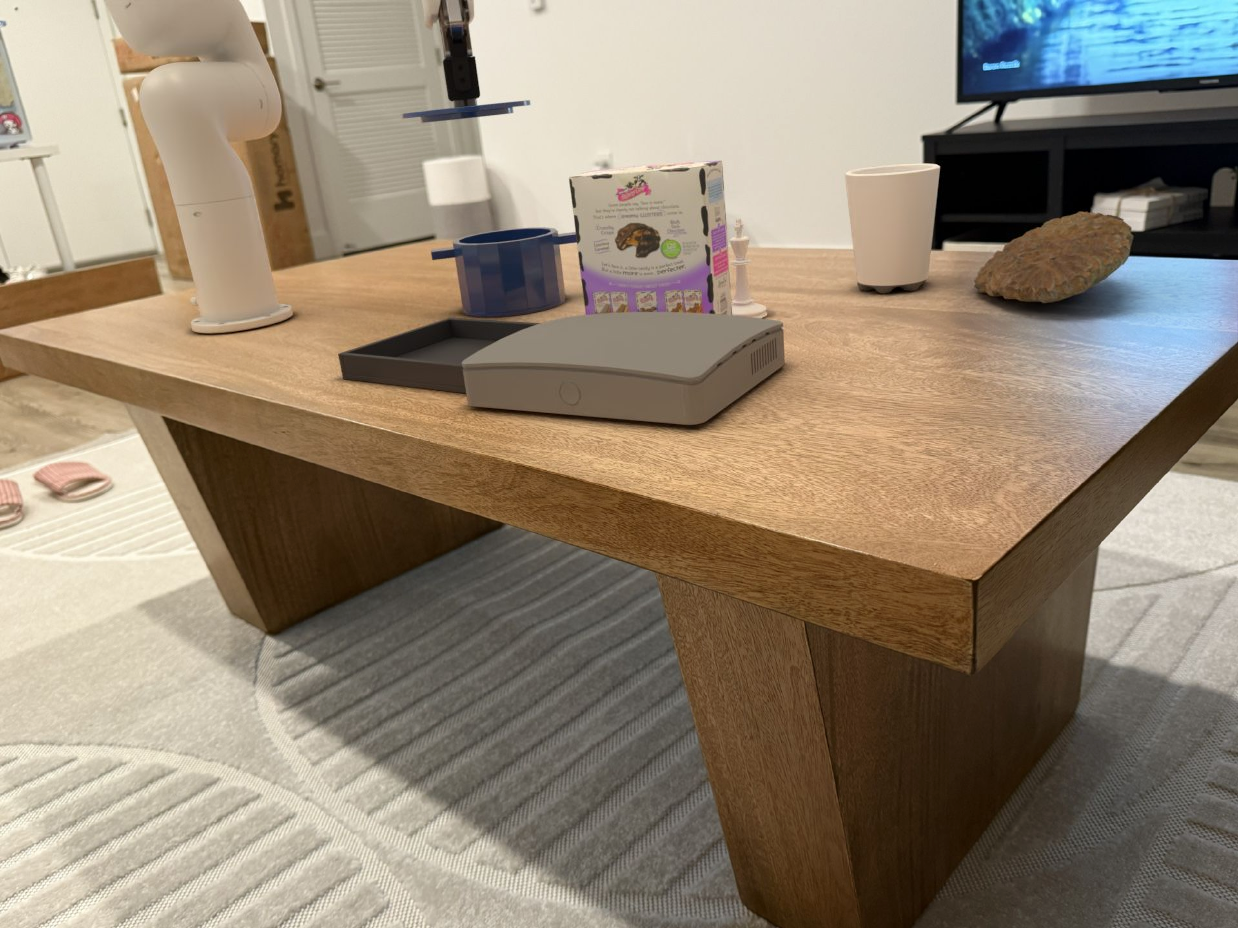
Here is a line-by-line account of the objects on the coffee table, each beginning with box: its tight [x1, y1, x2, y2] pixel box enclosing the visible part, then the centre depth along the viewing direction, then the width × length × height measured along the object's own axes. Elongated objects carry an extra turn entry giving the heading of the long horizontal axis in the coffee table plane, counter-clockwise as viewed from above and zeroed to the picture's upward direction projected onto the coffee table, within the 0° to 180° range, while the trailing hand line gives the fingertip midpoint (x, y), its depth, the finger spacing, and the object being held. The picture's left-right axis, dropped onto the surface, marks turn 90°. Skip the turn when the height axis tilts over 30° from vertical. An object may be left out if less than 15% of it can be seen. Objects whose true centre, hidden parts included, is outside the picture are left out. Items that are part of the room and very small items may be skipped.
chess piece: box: [729, 218, 768, 319], centre depth 102 cm, size 5×5×10 cm
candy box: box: [568, 160, 732, 315], centre depth 95 cm, size 14×6×16 cm, turn 65°
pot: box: [430, 226, 577, 318], centre depth 120 cm, size 13×18×8 cm
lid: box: [400, 56, 532, 124], centre depth 103 cm, size 14×14×6 cm
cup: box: [844, 163, 941, 294], centre depth 108 cm, size 10×10×13 cm
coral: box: [973, 211, 1134, 304], centre depth 97 cm, size 19×9×15 cm
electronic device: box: [462, 312, 786, 426], centre depth 82 cm, size 19×22×5 cm
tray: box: [337, 317, 542, 394], centre depth 95 cm, size 17×15×2 cm
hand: (464, 98), depth 103 cm, fingers closed on lid, 2 cm apart
